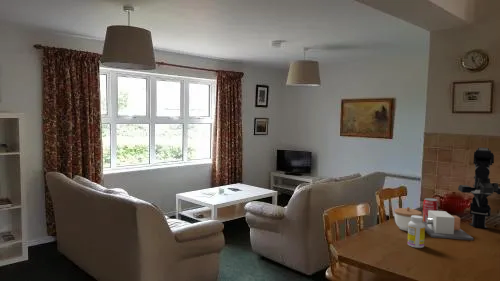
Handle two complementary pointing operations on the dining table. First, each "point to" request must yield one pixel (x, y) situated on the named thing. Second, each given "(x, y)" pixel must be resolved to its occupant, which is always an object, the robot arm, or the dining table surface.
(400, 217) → the lidded bowl
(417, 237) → the supplement bottle
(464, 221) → the dining table surface
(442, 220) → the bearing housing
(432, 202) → the soda can
